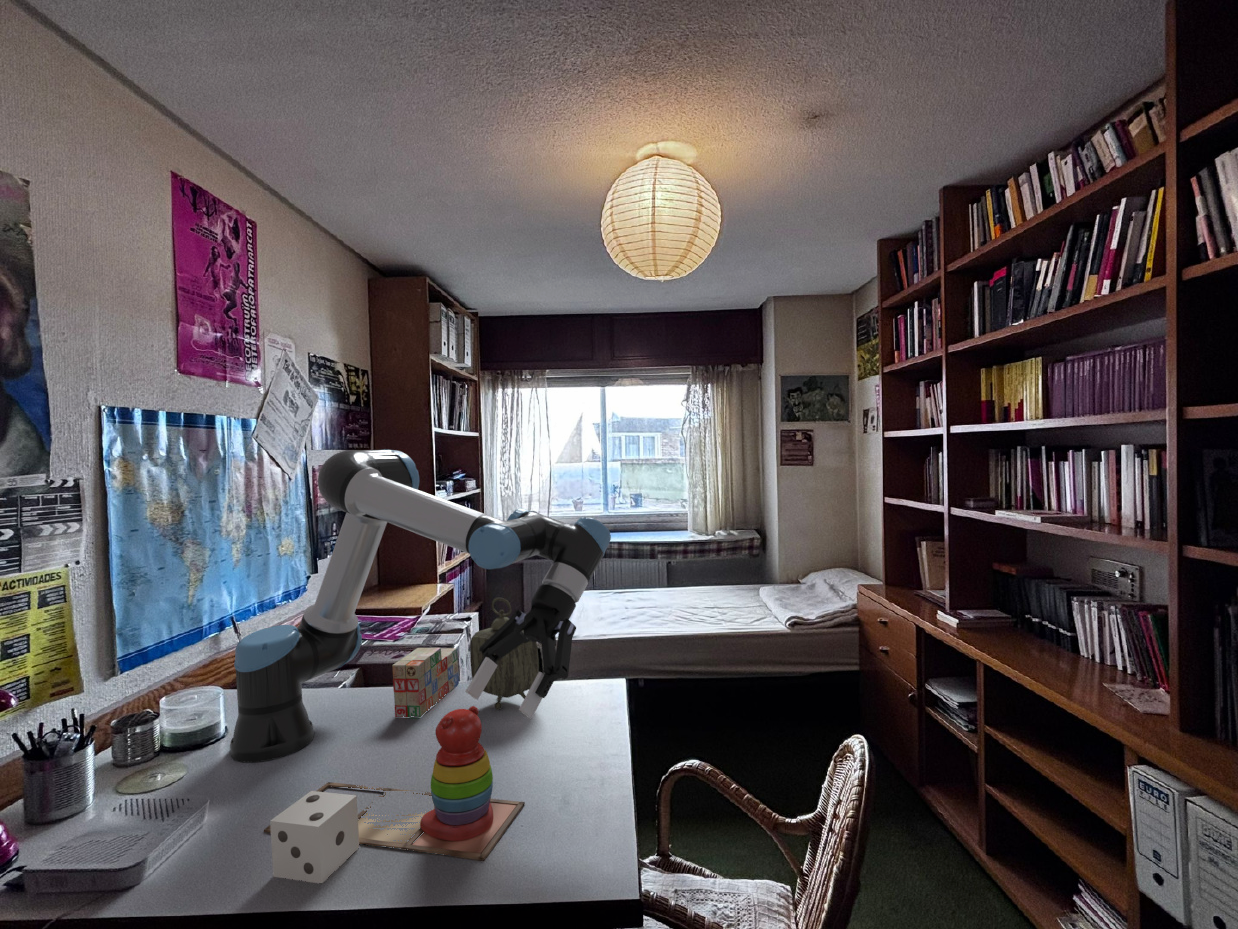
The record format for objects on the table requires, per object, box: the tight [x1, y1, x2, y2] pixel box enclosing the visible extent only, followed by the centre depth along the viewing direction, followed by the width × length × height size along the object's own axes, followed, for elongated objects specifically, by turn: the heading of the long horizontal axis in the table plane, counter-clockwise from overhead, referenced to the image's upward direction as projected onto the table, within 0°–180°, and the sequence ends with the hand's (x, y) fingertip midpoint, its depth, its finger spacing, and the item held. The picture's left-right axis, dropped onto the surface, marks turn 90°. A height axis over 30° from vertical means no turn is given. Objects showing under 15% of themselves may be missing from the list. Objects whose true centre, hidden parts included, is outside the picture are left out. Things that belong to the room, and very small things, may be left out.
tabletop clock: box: [469, 597, 540, 710], centre depth 146 cm, size 14×9×25 cm, turn 49°
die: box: [269, 790, 360, 884], centre depth 92 cm, size 8×8×8 cm
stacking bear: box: [420, 705, 494, 841], centre depth 99 cm, size 11×10×18 cm
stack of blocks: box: [391, 647, 460, 717], centre depth 152 cm, size 21×6×12 cm, turn 171°
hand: (497, 705), depth 103 cm, fingers open, 13 cm apart
